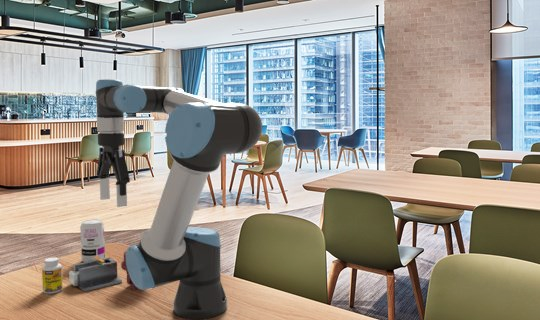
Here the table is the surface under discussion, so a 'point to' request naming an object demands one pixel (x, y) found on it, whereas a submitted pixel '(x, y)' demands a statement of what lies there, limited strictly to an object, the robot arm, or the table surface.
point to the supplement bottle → (52, 276)
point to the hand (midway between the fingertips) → (113, 202)
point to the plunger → (75, 274)
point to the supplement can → (92, 240)
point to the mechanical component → (124, 267)
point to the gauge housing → (97, 274)
